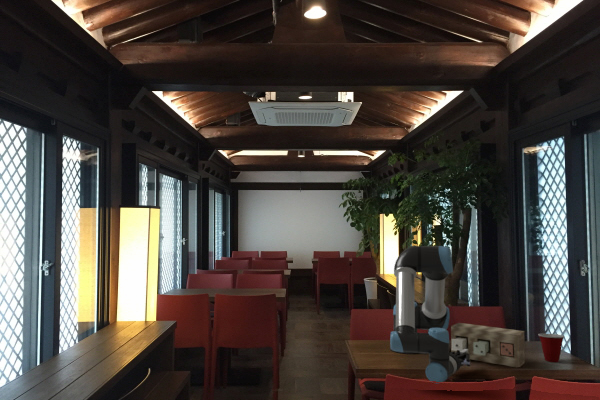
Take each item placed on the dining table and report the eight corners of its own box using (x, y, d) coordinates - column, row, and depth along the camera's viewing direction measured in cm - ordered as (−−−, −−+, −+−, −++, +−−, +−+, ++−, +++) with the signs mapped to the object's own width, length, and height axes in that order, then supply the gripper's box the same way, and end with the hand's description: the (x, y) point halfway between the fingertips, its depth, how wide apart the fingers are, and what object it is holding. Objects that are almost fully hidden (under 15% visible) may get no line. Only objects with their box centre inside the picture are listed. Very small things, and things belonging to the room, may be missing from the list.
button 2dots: (473, 353, 209) (473, 342, 209) (479, 350, 216) (478, 339, 216) (484, 355, 206) (484, 344, 206) (490, 351, 213) (490, 340, 213)
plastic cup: (560, 358, 219) (559, 332, 220) (568, 364, 209) (567, 337, 209) (535, 356, 221) (534, 331, 222) (542, 363, 211) (541, 336, 212)
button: (451, 350, 215) (451, 339, 216) (457, 346, 222) (457, 335, 222) (462, 352, 212) (462, 340, 213) (468, 348, 219) (468, 337, 219)
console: (451, 356, 222) (451, 326, 223) (459, 351, 230) (458, 322, 231) (519, 367, 204) (518, 335, 204) (524, 362, 212) (524, 331, 213)
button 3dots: (500, 354, 208) (500, 343, 208) (505, 350, 215) (505, 339, 215) (512, 356, 205) (512, 345, 205) (517, 352, 211) (517, 341, 212)
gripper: (432, 371, 189) (451, 358, 208) (464, 377, 181) (482, 363, 200) (432, 352, 190) (451, 341, 209) (464, 357, 182) (481, 345, 201)
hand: (466, 352), depth 204 cm, fingers closed
